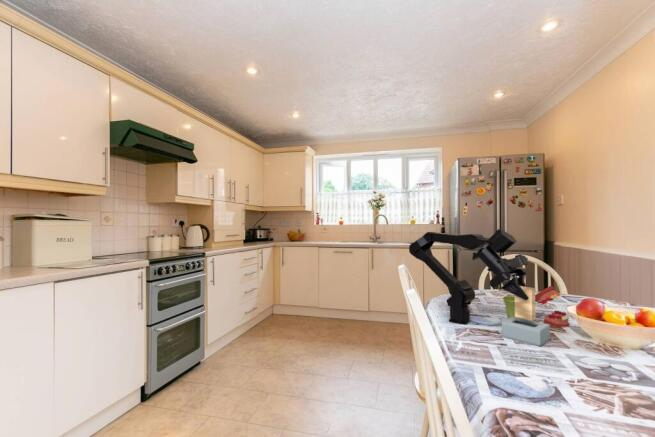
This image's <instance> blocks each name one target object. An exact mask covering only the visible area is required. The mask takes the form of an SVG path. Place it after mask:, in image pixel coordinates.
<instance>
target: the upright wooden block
mask: <svg viewBox="0 0 655 437" xmlns="http://www.w3.org/2000/svg"><path fill="white" fill-rule="evenodd" d="M520 287H521V288H522V290H523V291H524V292H525V293H526V295H527V296H528V298H529V299H528V300H524V299H522V298H520V297H518V296H516V295H514V296H515V317H518V318H522V319H527V320H531V321H534V320H536V319H537V317H536V302H535V295H536V288H535V287H529V286H527V287H523V286H520Z"/></svg>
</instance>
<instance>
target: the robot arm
mask: <svg viewBox="0 0 655 437" xmlns="http://www.w3.org/2000/svg"><path fill="white" fill-rule="evenodd" d="M435 243H443V244H450V245H451V244H452V245H456V246H459V247H461V248H464V249H467V250H477V251H476V252H474V251H473V252H472V260H473V261H475V260H480V261H481V262H482V263H483V264H484V265H485V266H486V267H487V269H486V270H487V271H488V272H489V273H490V272H491V273H492V274H493V275H494V277H492V278H491V279H489V286H490V287H491V288H492V289H493V290H495V289H498V288H499V286H500V285H502V286H501V287H500V289H501V290H502V291H503V290H504V291H505V292H508V293H510V294H512V295H513V296H515V295H516V296H518V297H520V298H522V299H524V300H528V299H529V298H528V296H527V295H526V293H525V292H524V291H523V290H522V288H521V287H520V286H523V287H528V286H527V285H526V282H525V278H526V275H527V274H529V273H530V272H529V271H528V270H527V269H526V268H525V267H523V266H527V265H529V264H530V263H529V262H528V259H529V258H528V257H527V256H526V255H523V254H521V253H519V254H516V255H514V257H513V258H510V259H508V258H505V257H504V258H503V257H501V256H500V253H501V254H504V253H506V252H507V251H508V250H509V249H510V248H511V247H512V246H514V244H516V243H517V239H516V238H515V237H514V236H513V235H512V234H510V233H508V232H507V231H505V230H503V229H502V228H498V229H496V231H495V233H493V234H492V235H491V236H490V237H484V235H483V234H480V233H472V234H471V233H470V234H468V233H467V234H453V233H452V234H451V233H443V232H442V233H441V232H436V231H427V232H426V233H424V234H423V235H422V236H421V237H419V238H418V239H416V240H415V241H414V242H411V243H410V244H409V248H408V252H409V254H410V255H411V256H413V257H414V258H415V259H417V260H419V261H421V262H423V263H424V264H425V265H426V266H427V267H428V269H430V270H431V271H432V272H433V273H434V275H435V276H436V277H437V278H438V279H439V280H440V281H441V282H442V283H443V284H444V285H445V286H446V287H447V289H448V293H449V295H450V297H448V298H447V299H446V304H447V306H448V307H449V319H448V322H451V323H455V324H462V325H468V324H469V323H470V321H471V310H470V307H469V306H470V305H471V304H472V301H474V300H475V298H476V292H475V290H474V289H473V288H474V287H473V286H472V285H471V284H469V282H468V281H467V280H466V279H462V280H459V279H457V278H456V277H455V276H454V275H453V273H452V272H450V271H449V270H448V269H447V268H446V267H445V266H444V265H443V263H441V261H440V260H438V259H437V258H436V257H435V256H434V255H433V252H432V250H431V248H433V245H434V244H435Z"/></svg>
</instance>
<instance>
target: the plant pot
mask: <svg viewBox="0 0 655 437" xmlns="http://www.w3.org/2000/svg"><path fill="white" fill-rule="evenodd" d="M502 300H503V302H504V305H505V310H506V316H507V319H509V318H511V317H515V295H512V296H511V295H510V296H509V295H508V296H507V295H506V296H503V297H502ZM517 318H518V317H517ZM521 319H522V318H521ZM526 320H527V319H526Z"/></svg>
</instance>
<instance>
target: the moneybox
mask: <svg viewBox="0 0 655 437" xmlns="http://www.w3.org/2000/svg"><path fill="white" fill-rule="evenodd" d="M550 328H551V326H550V324H545V323H544V322H539V321H534V320H526V319H521V318H517V317H511V318H509V319H508V318H507V319H504V320H502V321H501V337H502V338H506V339H508V340H514V341H517V342H520V343H524V344H528V345H531V346H534V347H538V348H539V347H540V348H541V347H542V346H544V345H545V344H546V343H548V342H550V341H551V330H550Z"/></svg>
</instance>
